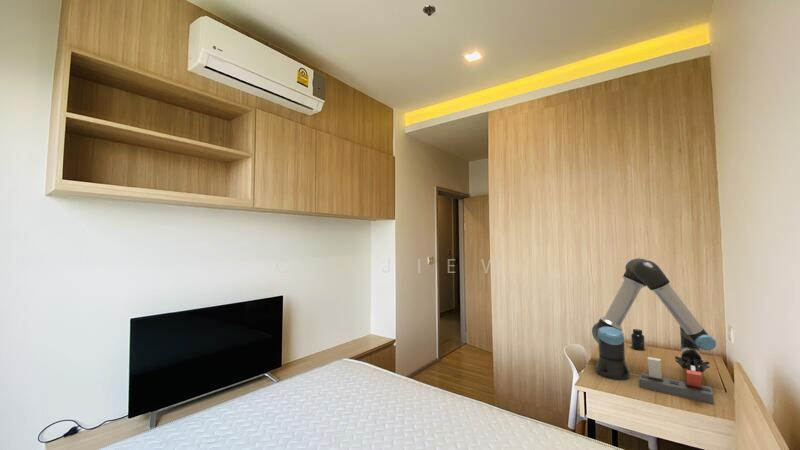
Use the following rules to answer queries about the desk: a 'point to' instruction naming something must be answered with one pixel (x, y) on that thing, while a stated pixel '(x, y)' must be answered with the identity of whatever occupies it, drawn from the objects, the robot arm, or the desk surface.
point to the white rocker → (654, 367)
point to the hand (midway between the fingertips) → (693, 373)
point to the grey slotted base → (676, 388)
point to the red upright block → (694, 378)
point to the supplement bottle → (637, 340)
